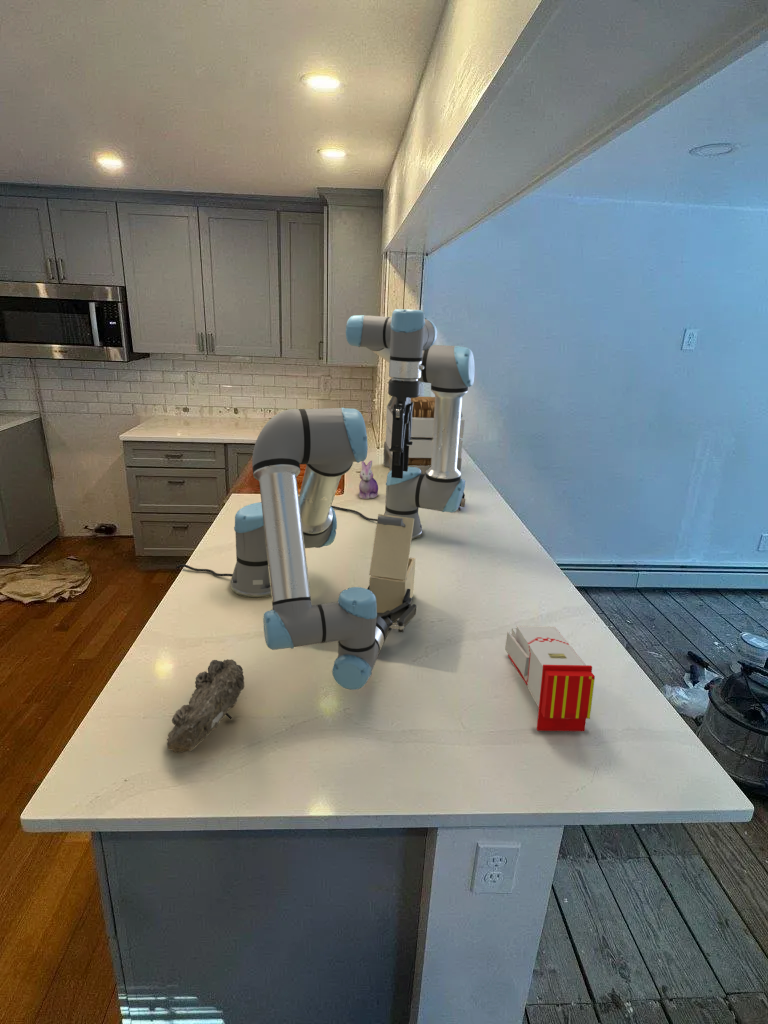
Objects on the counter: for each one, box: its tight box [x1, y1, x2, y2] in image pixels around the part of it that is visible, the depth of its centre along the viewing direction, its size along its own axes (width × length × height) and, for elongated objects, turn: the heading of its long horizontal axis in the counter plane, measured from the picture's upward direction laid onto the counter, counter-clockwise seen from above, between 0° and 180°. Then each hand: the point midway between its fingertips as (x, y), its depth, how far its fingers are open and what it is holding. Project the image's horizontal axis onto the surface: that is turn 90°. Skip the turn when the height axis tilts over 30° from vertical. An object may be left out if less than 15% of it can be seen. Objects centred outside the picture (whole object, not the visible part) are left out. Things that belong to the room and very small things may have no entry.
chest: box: [368, 556, 417, 622], centre depth 150 cm, size 14×9×11 cm, turn 167°
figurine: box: [358, 460, 379, 500], centre depth 236 cm, size 9×10×15 cm
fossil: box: [166, 658, 245, 754], centre depth 106 cm, size 22×10×15 cm
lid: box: [368, 513, 414, 580], centre depth 138 cm, size 16×9×9 cm
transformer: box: [383, 396, 465, 474], centre depth 268 cm, size 34×33×41 cm
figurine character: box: [457, 492, 466, 511], centre depth 229 cm, size 7×8×15 cm
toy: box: [504, 625, 596, 732], centre depth 119 cm, size 12×13×30 cm
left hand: (389, 590), depth 146 cm, fingers closed on chest, 9 cm apart
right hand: (399, 473), depth 141 cm, fingers open, 6 cm apart
